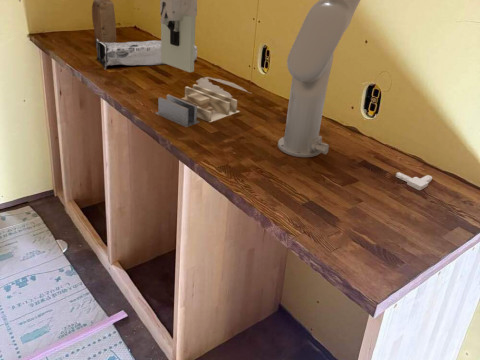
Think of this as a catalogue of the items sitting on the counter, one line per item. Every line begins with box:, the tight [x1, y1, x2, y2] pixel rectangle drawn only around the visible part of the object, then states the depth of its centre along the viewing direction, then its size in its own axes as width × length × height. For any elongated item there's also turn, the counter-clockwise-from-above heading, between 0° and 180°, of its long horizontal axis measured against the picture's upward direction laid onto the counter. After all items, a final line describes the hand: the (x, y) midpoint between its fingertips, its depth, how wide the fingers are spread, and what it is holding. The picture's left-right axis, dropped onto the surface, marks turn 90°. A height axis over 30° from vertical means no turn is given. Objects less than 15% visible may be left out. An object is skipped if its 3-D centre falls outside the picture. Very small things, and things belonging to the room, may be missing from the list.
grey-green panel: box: [160, 15, 197, 73], centre depth 135 cm, size 12×2×15 cm, turn 49°
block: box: [91, 0, 117, 43], centre depth 210 cm, size 11×8×20 cm
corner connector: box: [395, 171, 433, 191], centre depth 125 cm, size 8×8×2 cm
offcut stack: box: [180, 93, 213, 113], centre depth 152 cm, size 10×5×4 cm, turn 49°
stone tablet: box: [195, 76, 251, 98], centre depth 172 cm, size 16×30×2 cm, turn 32°
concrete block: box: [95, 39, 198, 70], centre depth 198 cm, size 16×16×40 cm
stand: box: [154, 94, 200, 128], centre depth 145 cm, size 14×6×6 cm, turn 49°
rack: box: [166, 83, 241, 123], centre depth 154 cm, size 20×14×6 cm
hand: (177, 44), depth 135 cm, fingers closed on grey-green panel, 1 cm apart
